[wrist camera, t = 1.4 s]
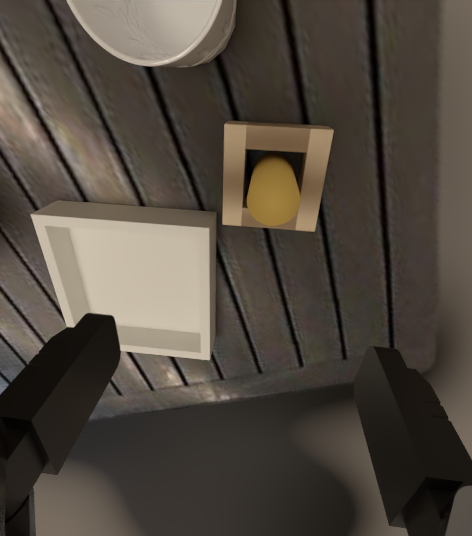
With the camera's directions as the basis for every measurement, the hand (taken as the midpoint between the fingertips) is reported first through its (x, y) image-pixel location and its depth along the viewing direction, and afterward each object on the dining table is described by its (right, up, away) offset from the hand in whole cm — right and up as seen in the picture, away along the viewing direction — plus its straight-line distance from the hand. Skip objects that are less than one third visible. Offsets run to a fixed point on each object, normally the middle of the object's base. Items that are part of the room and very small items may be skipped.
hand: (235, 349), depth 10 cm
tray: (-10, +2, +24) cm, 26 cm away
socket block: (+3, +11, +17) cm, 21 cm away
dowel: (+3, +11, +17) cm, 21 cm away
